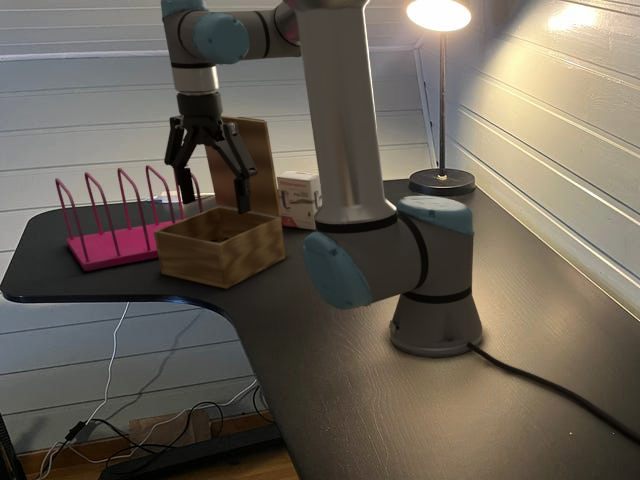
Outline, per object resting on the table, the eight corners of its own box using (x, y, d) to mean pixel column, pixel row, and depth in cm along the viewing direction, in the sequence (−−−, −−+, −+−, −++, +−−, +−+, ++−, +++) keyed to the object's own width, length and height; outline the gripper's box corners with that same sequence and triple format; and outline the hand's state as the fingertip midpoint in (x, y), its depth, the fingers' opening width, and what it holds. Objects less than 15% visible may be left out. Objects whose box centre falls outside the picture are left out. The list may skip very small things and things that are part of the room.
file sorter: (213, 248, 155) (201, 174, 147) (85, 273, 142) (64, 193, 134) (188, 225, 167) (175, 156, 159) (67, 246, 154) (47, 172, 146)
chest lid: (264, 122, 136) (285, 114, 141) (197, 113, 142) (220, 105, 147) (279, 216, 146) (299, 205, 151) (216, 204, 152) (237, 194, 157)
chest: (226, 288, 137) (219, 245, 132) (161, 273, 142) (153, 231, 138) (285, 258, 151) (280, 217, 147) (224, 245, 157) (218, 205, 152)
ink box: (281, 226, 168) (275, 175, 162) (292, 219, 172) (286, 169, 166) (315, 231, 166) (310, 179, 160) (325, 224, 170) (321, 173, 164)
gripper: (267, 94, 129) (281, 211, 139) (160, 83, 138) (181, 193, 148) (239, 100, 123) (255, 222, 133) (129, 88, 132) (152, 203, 142)
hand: (216, 207), depth 141 cm, fingers open, 13 cm apart
